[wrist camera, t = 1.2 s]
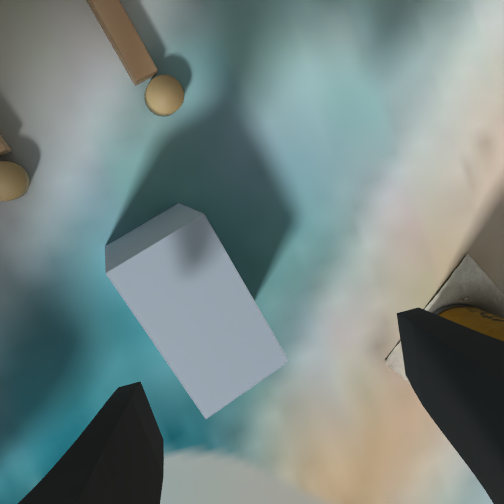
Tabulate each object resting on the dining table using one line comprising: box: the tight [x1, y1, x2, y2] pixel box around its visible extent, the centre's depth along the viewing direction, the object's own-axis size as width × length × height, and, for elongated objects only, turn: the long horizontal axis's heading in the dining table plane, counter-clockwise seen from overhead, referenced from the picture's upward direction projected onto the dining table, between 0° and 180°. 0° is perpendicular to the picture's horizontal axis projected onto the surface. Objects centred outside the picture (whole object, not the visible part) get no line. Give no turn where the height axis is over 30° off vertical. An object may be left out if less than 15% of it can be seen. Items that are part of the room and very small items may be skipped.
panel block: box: [105, 203, 289, 419], centre depth 20 cm, size 4×7×6 cm, turn 29°
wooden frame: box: [0, 0, 184, 201], centre depth 17 cm, size 9×11×4 cm
